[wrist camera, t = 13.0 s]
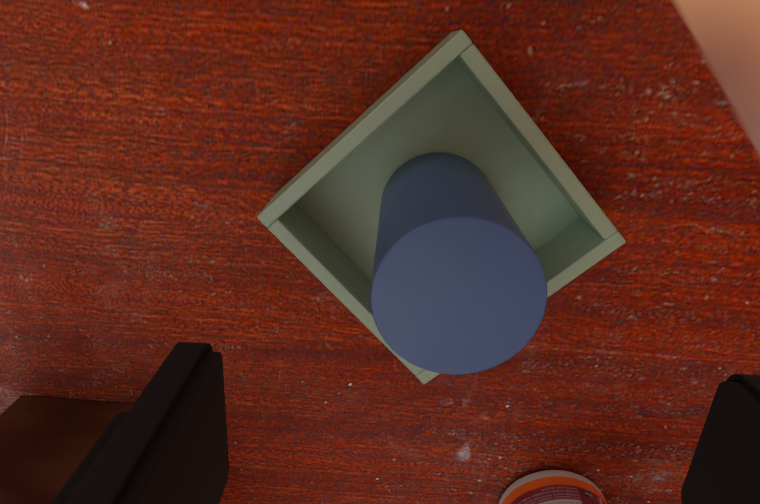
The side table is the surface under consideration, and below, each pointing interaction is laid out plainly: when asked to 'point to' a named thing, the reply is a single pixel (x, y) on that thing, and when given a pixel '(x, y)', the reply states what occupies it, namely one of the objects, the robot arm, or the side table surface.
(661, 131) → the side table surface
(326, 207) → the bin
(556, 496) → the pill bottle
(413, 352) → the vial
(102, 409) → the stand
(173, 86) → the side table surface
